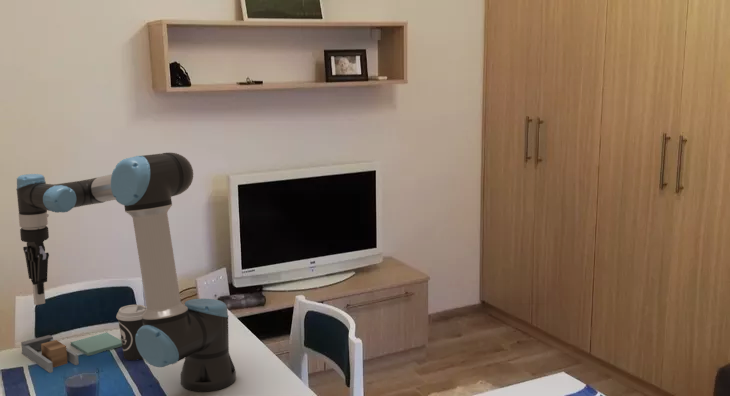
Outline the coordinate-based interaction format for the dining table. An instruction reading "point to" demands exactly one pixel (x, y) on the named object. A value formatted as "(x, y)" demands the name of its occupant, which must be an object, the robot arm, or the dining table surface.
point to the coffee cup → (130, 329)
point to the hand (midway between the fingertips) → (39, 303)
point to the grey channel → (31, 352)
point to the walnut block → (55, 352)
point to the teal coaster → (97, 344)
